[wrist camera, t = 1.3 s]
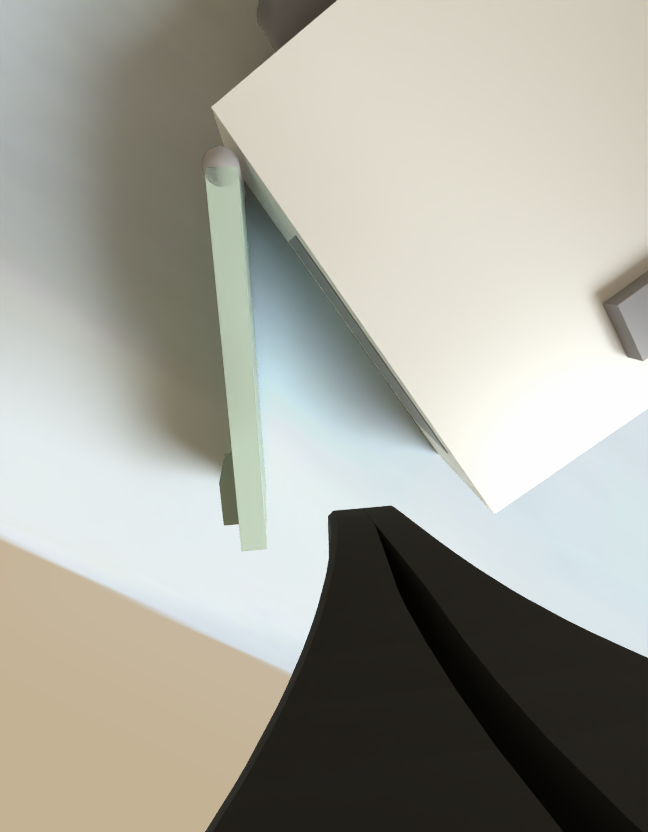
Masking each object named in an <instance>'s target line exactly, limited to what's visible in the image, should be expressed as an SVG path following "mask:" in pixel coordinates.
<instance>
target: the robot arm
mask: <svg viewBox="0 0 648 832" xmlns="http://www.w3.org/2000/svg"><path fill="white" fill-rule="evenodd" d="M328 533H329V561H328V567H327V573H326V578H325V581H324V585H323V589H322V593H321V597H320V600H319V604H318V608H317V611H316V614H315V617H314V620H313V623H312V626H311V629H310V632H309V634H308V637H307V640H306V642H305V645H304V648H303V650H302V653H301V655H300V658H299V660H298V662H297V664H296V667H295V669H294V671H293V674H292V676H291V678H290V681H289V683H288V685H287V687H286V690H285V692H284V694H283V696H282V698H281V700H280V702H279V704H278V706H277V708H276V710H275V712H274V714H273V716H272V718H271V720H270V722H269V723H268V725H267V727H266V729H265V731H264V733H263V735H262V737H261V738H260V740H259V742H258V744H257V746H256V748H255V750H254V751H253V753H252V755H251V757H250V759H249V761H248V763H247V764H246V766H245V768H244V770H243V771H242V773H241V775H240V777H239V778H238V780H237V782H236V783H235V785H234V787H233V788H232V790H231V792H230V793H229V795H228V796H227V798H226V800H225V801H224V803H223V804H222V806H221V807H220V809H219V811H218V813H217V814H216V816H215V817H214V819H213V820H212V822H211V823H210V825H209V827H208V828H207V830H206V831H205V832H648V658H647V657H645V656H642V655H640V654H638V653H636V652H633V651H631V650H629V649H627V648H625V647H622V646H620V645H618V644H616V643H614V642H611V641H609V640H607V639H605V638H603V637H600V636H598V635H596V634H594V633H592V632H590V631H588V630H586V629H584V628H581V627H579V626H577V625H575V624H573V623H571V622H569V621H567V620H565V619H564V618H562V617H560V616H558V615H556V614H554V613H552V612H551V611H549V610H547V609H545V608H543V607H541V606H539V605H538V604H536V603H534V602H532V601H530V600H528V599H526V598H525V597H523V596H521V595H520V594H518V593H516V592H514V591H513V590H511V589H509V588H508V587H506V586H505V585H503V584H501V583H500V582H498V581H497V580H495V579H494V578H492V577H490V576H489V575H487V574H486V573H484V572H482V571H481V570H479V569H478V568H476V567H475V566H473V565H472V564H470V563H469V562H467V561H466V560H465V559H463V558H462V557H460V556H459V555H457V554H456V553H454V552H453V551H452V550H450V549H449V548H448V547H446V546H445V545H443V544H442V543H441V542H439V541H438V540H437V539H435V538H434V537H433V536H431V535H430V534H429V533H427V532H426V531H425V530H423V529H422V528H421V527H419V526H418V525H417V524H415V523H414V522H413V521H412V520H410V519H409V518H408V517H406V516H405V515H404V514H402V513H401V512H400V511H398V510H397V509H396V508H394V507H393V506H383V507H371V508H360V509H349V510H338V511H333V512H332V513H331V514H330V515H329V516H328Z"/></svg>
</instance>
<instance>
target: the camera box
mask: <svg viewBox="0 0 648 832" xmlns="http://www.w3.org/2000/svg"><path fill="white" fill-rule="evenodd" d="M257 19H258V23H259V25H260V27H261V28H262V30H263V31H264V33H265V35H266V36H267V38H268V40H269V41H270V43H271V44H272V46H273V48H274V49H275V51H276V53H274V54H273V55H272V56H271V57H270V58H269V59H267V60H266V61H265V62H264V63H263V64H261V65H260V66H259V67H258V68H257V69H256V70H254V71H253V72H252V73H251V74H250V75H248V76H247V77H246V78H245V79H244V80H243V81H241V82H240V83H239V84H238V85H237V86H235V87H234V88H233V89H232V90H231V91H230V92H228V93H227V94H226V95H225V96H224V97H222V98H221V99H220V100H219V101H218V102H217V103H215V104H214V105H213V106H212V107H211V108H212V111H213V114H214V117H215V120H216V123H217V126H218V130H219V133H220V136H221V139H222V142H223V145H224V147H227V148H229V149H230V150H231V151H232V152H233V153H234V154H235V155H236V157H237V159H238V161H239V165H240V170H241V174H242V178H243V179H244V181H245V182H246V184H247V185H248V187H249V188H250V189H251V191H252V192H253V194H254V195H255V196H256V198H257V199H258V201H259V202H260V203H261V205H262V206H263V208H264V209H265V211H266V212H267V213H268V215H269V216H270V218H271V219H272V220H273V222H274V223H275V225H276V226H277V227H278V229H279V230H280V232H281V233H282V234H283V236H284V237H285V239H286V240H287V242H288V243H289V244H290V246H291V247H292V249H293V250H294V251H295V253H296V254H297V256H298V257H299V258H300V260H301V261H302V263H303V264H304V265H305V267H306V268H307V270H308V271H309V273H310V274H311V275H312V277H313V278H314V280H315V281H316V282H317V284H318V285H319V287H320V288H321V289H322V291H323V292H324V294H325V295H326V296H327V298H328V299H329V301H330V302H331V304H332V305H333V306H334V308H335V309H336V311H337V312H338V313H339V315H340V316H341V318H342V319H343V320H344V322H345V323H346V325H347V326H348V328H349V329H350V330H351V332H352V333H353V335H354V336H355V337H356V339H357V340H358V342H359V343H360V344H361V346H362V347H363V349H364V350H365V351H366V353H367V354H368V356H369V357H370V359H371V360H372V361H373V363H374V364H375V366H376V367H377V368H378V370H379V371H380V373H381V374H382V375H383V377H384V378H385V380H386V381H387V382H388V384H389V385H390V387H391V388H392V390H393V391H394V392H395V394H396V395H397V397H398V398H399V399H400V401H401V402H402V404H403V405H404V406H405V408H406V409H407V411H408V412H409V413H410V415H411V416H412V418H413V419H414V421H415V422H416V423H417V425H418V426H419V428H420V429H421V430H422V432H423V433H424V435H425V436H426V437H427V439H428V440H429V442H430V443H431V445H432V446H433V447H434V449H435V450H436V452H437V453H438V454H439V455H440V457H441V458H442V459H443V460H444V461H445V462H446V463H447V464H448V465H449V466H450V467H451V468H452V469H453V471H454V472H455V473H456V474H457V475H458V476H459V477H460V478H461V479H462V480H463V481H464V482H465V483H466V485H467V486H468V487H469V488H470V489H471V490H472V491H473V492H474V493H475V494H476V495H477V496H478V497H479V498H480V500H481V501H482V502H483V503H484V504H485V505H486V506H487V507H488V508H489V509H490V510H491V511H492V512H493V514H495V513H497V512H498V511H500V510H501V509H503V508H504V507H506V506H507V505H508V504H510V503H511V502H513V501H514V500H516V499H517V498H519V497H520V496H521V495H523V494H524V493H526V492H527V491H529V490H530V489H532V488H533V487H534V486H536V485H537V484H539V483H540V482H542V481H543V480H545V479H546V478H548V477H549V476H550V475H552V474H553V473H555V472H556V471H558V470H559V469H561V468H562V467H563V466H565V465H566V464H568V463H569V462H571V461H572V460H574V459H575V458H576V457H578V456H579V455H581V454H582V453H584V452H585V451H587V450H588V449H589V448H591V447H592V446H594V445H595V444H597V443H598V442H600V441H601V440H602V439H604V438H605V437H607V436H608V435H610V434H611V433H613V432H614V431H616V430H617V429H618V428H620V427H621V426H623V425H624V424H626V423H627V422H629V421H630V420H631V419H633V418H634V417H636V416H637V415H639V414H640V413H642V412H643V411H644V410H646V409H647V408H648V0H259V4H258V8H257Z"/></svg>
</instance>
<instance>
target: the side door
mask: <svg viewBox="0 0 648 832" xmlns="http://www.w3.org/2000/svg"><path fill="white" fill-rule="evenodd" d="M202 169H203V173H204V175H205V180H206V190H207V201H208V211H209V221H210V232H211V242H212V252H213V262H214V273H215V283H216V293H217V303H218V314H219V324H220V334H221V345H222V355H223V365H224V375H225V386H226V396H227V406H228V417H229V427H230V437H231V447H232V453H231V454H225V457H224V462H223V467H222V472H221V477H220V482H219V485H220V494H221V503H222V512H223V521H224V525H234V524H239V530H240V540H241V550H242V551H251V550H262V549H267V540H266V483H265V470H264V456H263V442H262V429H261V415H260V401H259V388H258V374H257V360H256V346H255V333H254V319H253V305H252V292H251V278H250V264H249V251H248V237H247V223H246V210H245V198H246V191H245V187H244V183H243V178H242V174H241V170H240V165H239V161H238V159H237V157H236V155H235V154H234V153H233V152H232V151H231V150H230V149H229V148H227V147H224V146H214V147H212V148H210V149H209V150H208V151H207V152H206V153H205V155H204V157H203V160H202Z"/></svg>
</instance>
